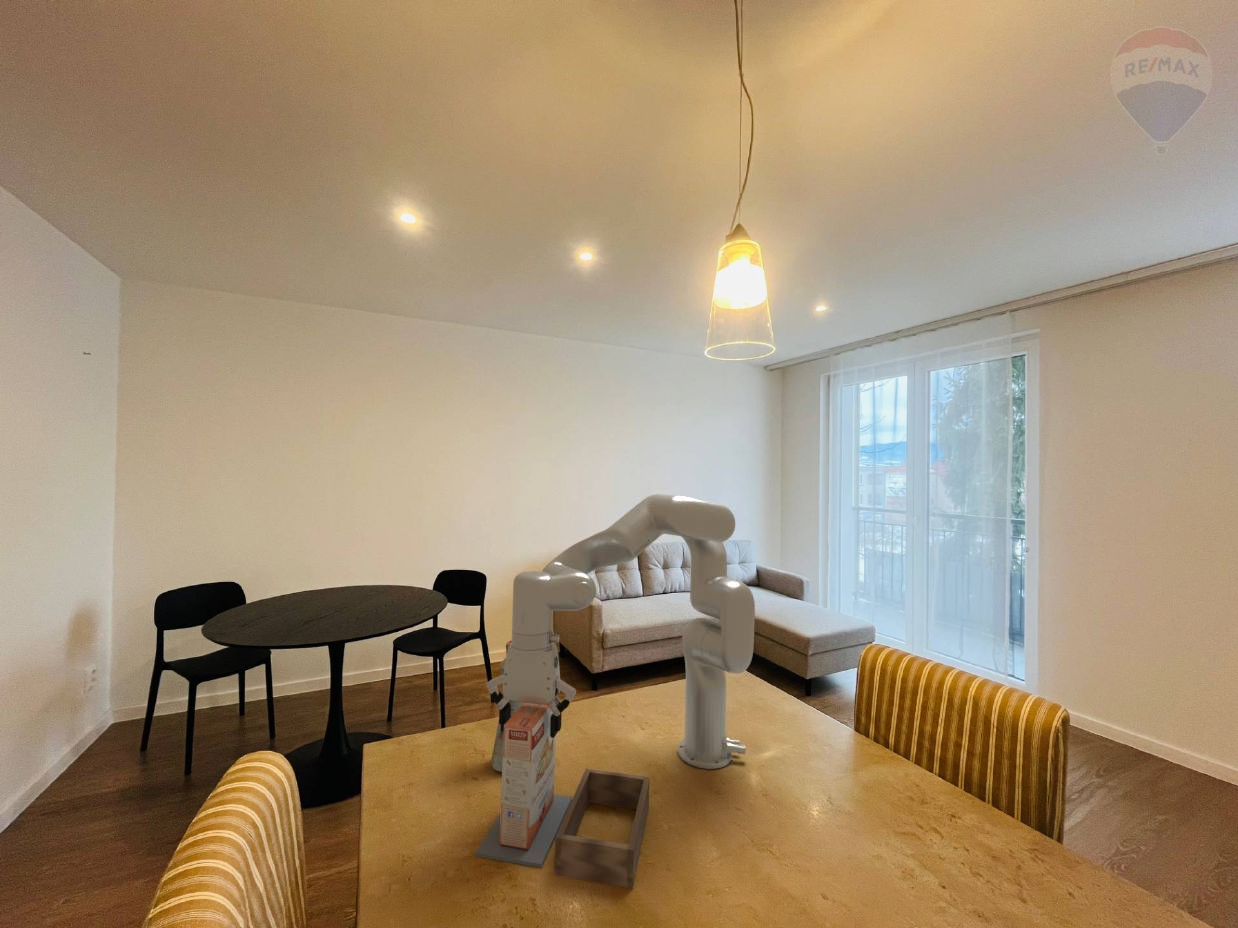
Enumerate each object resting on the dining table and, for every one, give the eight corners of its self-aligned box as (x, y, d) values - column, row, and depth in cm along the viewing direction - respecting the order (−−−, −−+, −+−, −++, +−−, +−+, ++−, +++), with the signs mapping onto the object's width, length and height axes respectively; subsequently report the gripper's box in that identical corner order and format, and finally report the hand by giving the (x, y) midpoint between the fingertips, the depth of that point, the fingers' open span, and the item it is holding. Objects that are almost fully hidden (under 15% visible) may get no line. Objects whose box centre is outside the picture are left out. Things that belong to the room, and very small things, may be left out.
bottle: (481, 770, 111) (485, 642, 111) (505, 750, 119) (509, 631, 120) (515, 780, 107) (518, 648, 108) (537, 758, 116) (540, 636, 117)
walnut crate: (648, 807, 99) (649, 776, 99) (632, 888, 80) (633, 850, 80) (585, 798, 102) (585, 768, 102) (554, 874, 82) (555, 837, 82)
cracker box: (530, 851, 86) (533, 728, 87) (497, 846, 87) (501, 724, 88) (556, 800, 100) (558, 694, 100) (527, 796, 101) (530, 691, 102)
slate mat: (571, 799, 101) (572, 796, 101) (541, 867, 83) (541, 863, 84) (515, 791, 103) (515, 788, 103) (474, 856, 86) (475, 852, 86)
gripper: (581, 636, 96) (579, 726, 96) (497, 629, 100) (495, 716, 99) (570, 649, 89) (568, 747, 89) (480, 641, 92) (477, 735, 92)
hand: (529, 731), depth 94 cm, fingers open, 9 cm apart
